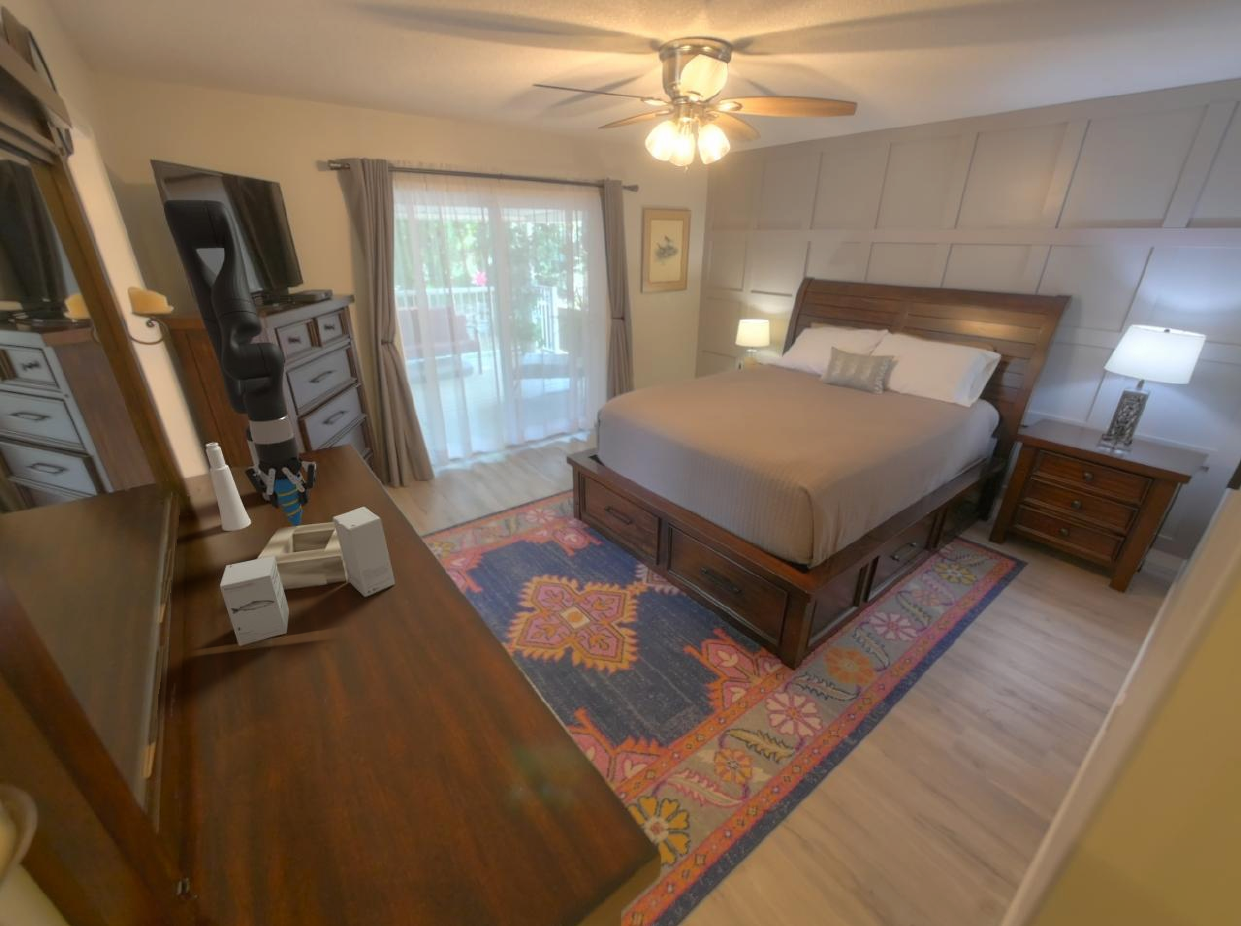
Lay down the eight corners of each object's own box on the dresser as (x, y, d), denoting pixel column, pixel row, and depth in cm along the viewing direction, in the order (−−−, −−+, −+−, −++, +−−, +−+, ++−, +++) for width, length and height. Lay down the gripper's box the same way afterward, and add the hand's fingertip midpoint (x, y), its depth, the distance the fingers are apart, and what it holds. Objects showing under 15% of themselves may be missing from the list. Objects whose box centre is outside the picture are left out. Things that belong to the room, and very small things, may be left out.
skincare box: (395, 585, 105) (383, 518, 99) (363, 599, 100) (347, 530, 95) (378, 569, 110) (365, 504, 104) (346, 582, 106) (331, 515, 100)
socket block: (285, 552, 116) (278, 527, 114) (361, 543, 120) (356, 519, 118) (259, 593, 102) (251, 566, 100) (346, 581, 106) (340, 555, 104)
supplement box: (238, 647, 88) (216, 586, 83) (244, 622, 94) (225, 564, 89) (288, 634, 91) (270, 574, 86) (291, 610, 97) (274, 553, 92)
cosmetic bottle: (252, 528, 126) (227, 445, 118) (222, 535, 123) (194, 450, 115) (251, 518, 131) (228, 438, 123) (222, 525, 128) (196, 442, 120)
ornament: (315, 523, 122) (301, 465, 116) (300, 534, 117) (285, 474, 111) (294, 521, 122) (280, 464, 116) (279, 532, 117) (263, 473, 112)
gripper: (314, 428, 116) (330, 495, 122) (242, 433, 112) (262, 502, 119) (305, 439, 109) (322, 510, 116) (228, 445, 105) (250, 517, 112)
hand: (291, 505), depth 117 cm, fingers closed on ornament, 5 cm apart
